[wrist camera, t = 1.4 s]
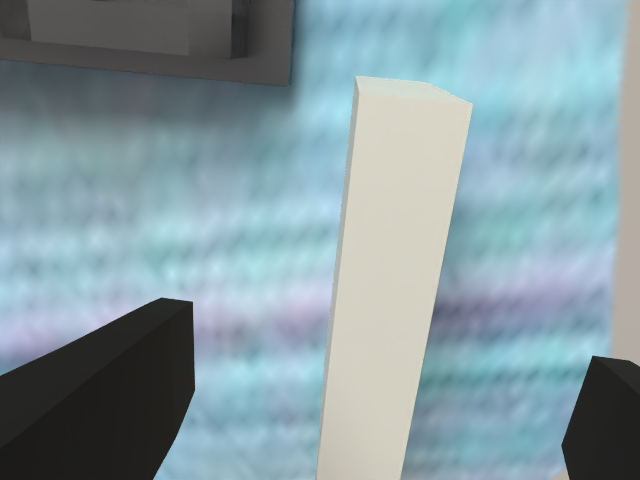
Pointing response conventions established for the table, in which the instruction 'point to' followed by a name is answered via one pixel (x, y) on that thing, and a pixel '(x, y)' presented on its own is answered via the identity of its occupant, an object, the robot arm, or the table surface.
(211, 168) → the table surface
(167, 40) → the rack
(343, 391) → the blanking panel
